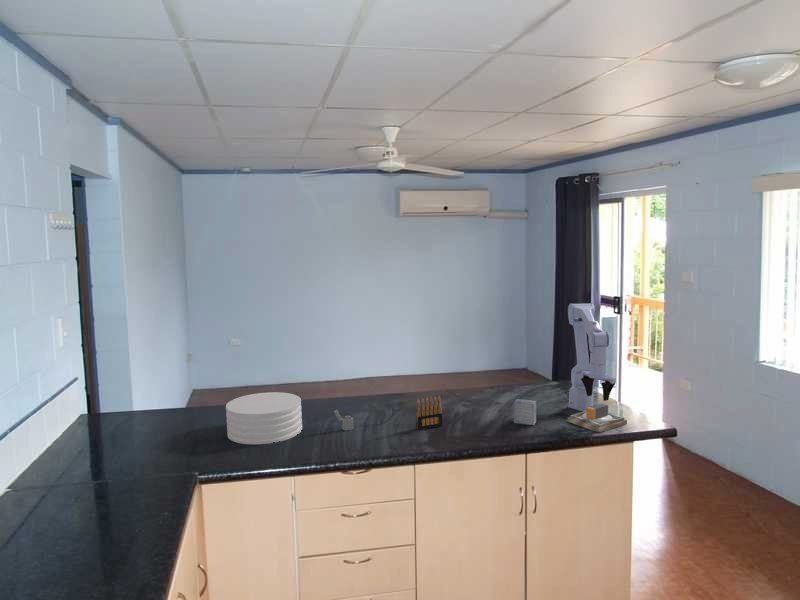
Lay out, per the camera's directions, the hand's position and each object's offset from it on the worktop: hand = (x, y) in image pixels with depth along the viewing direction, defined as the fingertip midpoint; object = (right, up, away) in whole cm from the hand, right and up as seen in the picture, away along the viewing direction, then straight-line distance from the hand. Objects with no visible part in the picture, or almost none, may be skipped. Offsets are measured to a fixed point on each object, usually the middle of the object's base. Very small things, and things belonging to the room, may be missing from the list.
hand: (597, 397), depth 224 cm
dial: (0, -8, +1) cm, 8 cm away
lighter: (-97, -12, 0) cm, 98 cm away
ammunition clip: (-65, -12, 0) cm, 66 cm away
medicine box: (-27, -10, +3) cm, 29 cm away
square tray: (0, -10, +1) cm, 10 cm away
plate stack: (-128, -13, 0) cm, 128 cm away
